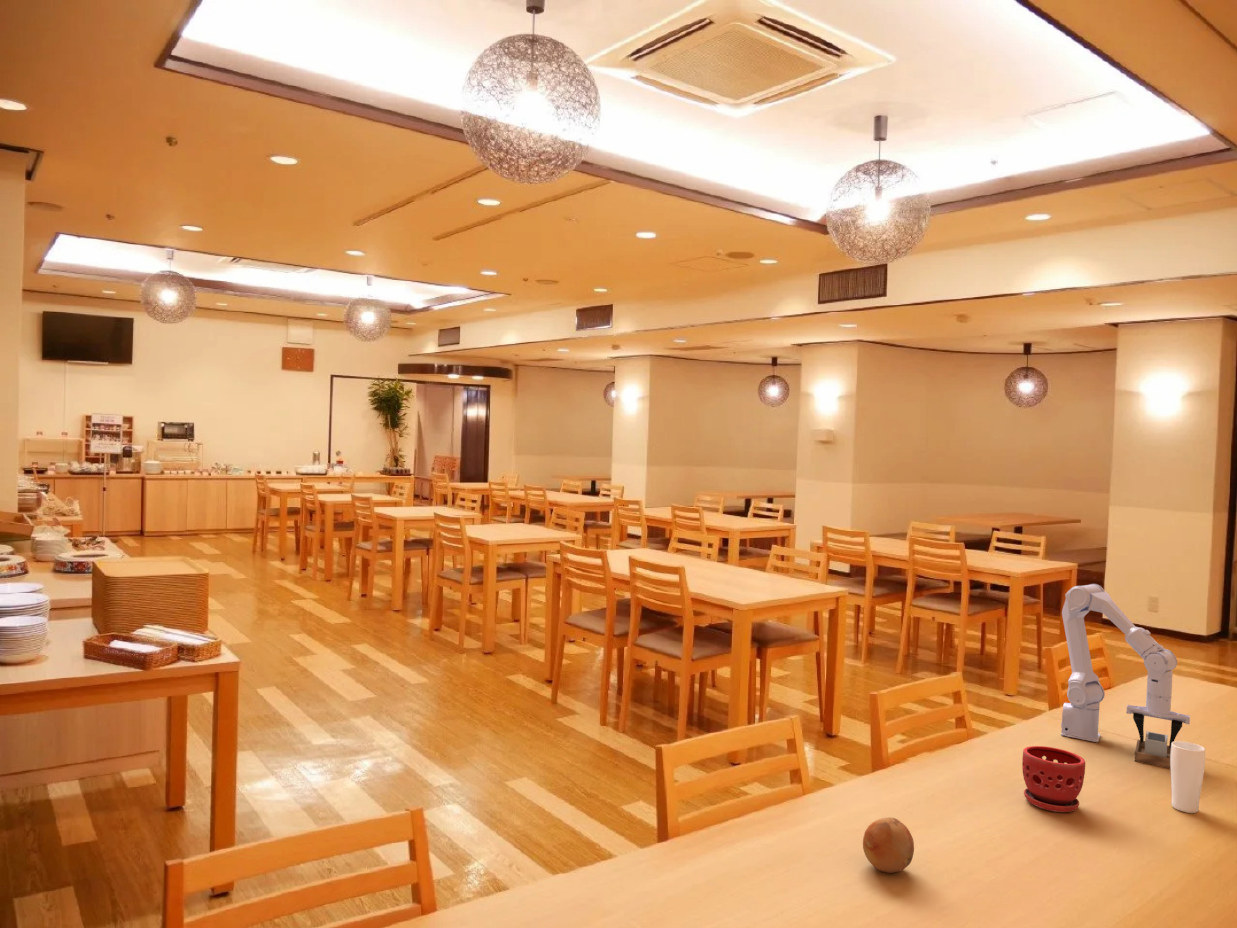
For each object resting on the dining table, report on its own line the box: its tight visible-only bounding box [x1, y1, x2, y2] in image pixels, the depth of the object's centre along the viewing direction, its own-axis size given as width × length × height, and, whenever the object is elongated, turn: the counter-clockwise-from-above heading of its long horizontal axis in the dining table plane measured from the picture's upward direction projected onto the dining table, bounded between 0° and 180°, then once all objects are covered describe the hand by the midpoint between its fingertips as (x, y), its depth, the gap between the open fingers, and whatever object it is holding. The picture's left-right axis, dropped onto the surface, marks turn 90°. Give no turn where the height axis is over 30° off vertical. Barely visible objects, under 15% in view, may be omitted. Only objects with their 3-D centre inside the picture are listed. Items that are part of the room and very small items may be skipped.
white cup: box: [1169, 740, 1206, 814], centre depth 201 cm, size 7×7×15 cm
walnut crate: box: [1134, 739, 1171, 770], centre depth 233 cm, size 9×12×2 cm
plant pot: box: [1021, 745, 1086, 813], centre depth 201 cm, size 13×13×12 cm
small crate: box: [1144, 730, 1169, 758], centre depth 233 cm, size 5×8×6 cm, turn 147°
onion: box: [862, 816, 915, 874], centre depth 168 cm, size 10×10×10 cm
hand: (1156, 744), depth 233 cm, fingers open, 6 cm apart
